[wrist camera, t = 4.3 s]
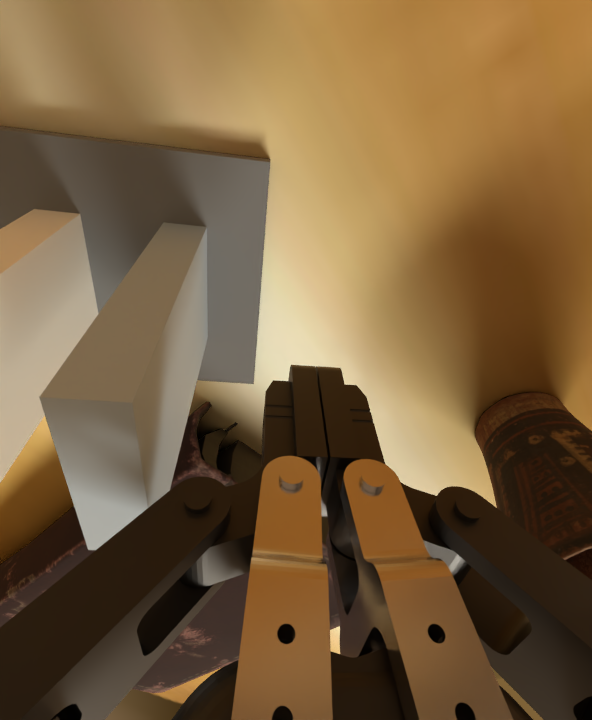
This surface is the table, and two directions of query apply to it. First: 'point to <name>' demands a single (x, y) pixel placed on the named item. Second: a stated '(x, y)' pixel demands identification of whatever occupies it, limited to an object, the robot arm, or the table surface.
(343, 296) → the table surface
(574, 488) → the cup
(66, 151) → the mat
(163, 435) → the domino
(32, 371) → the domino
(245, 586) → the diary
